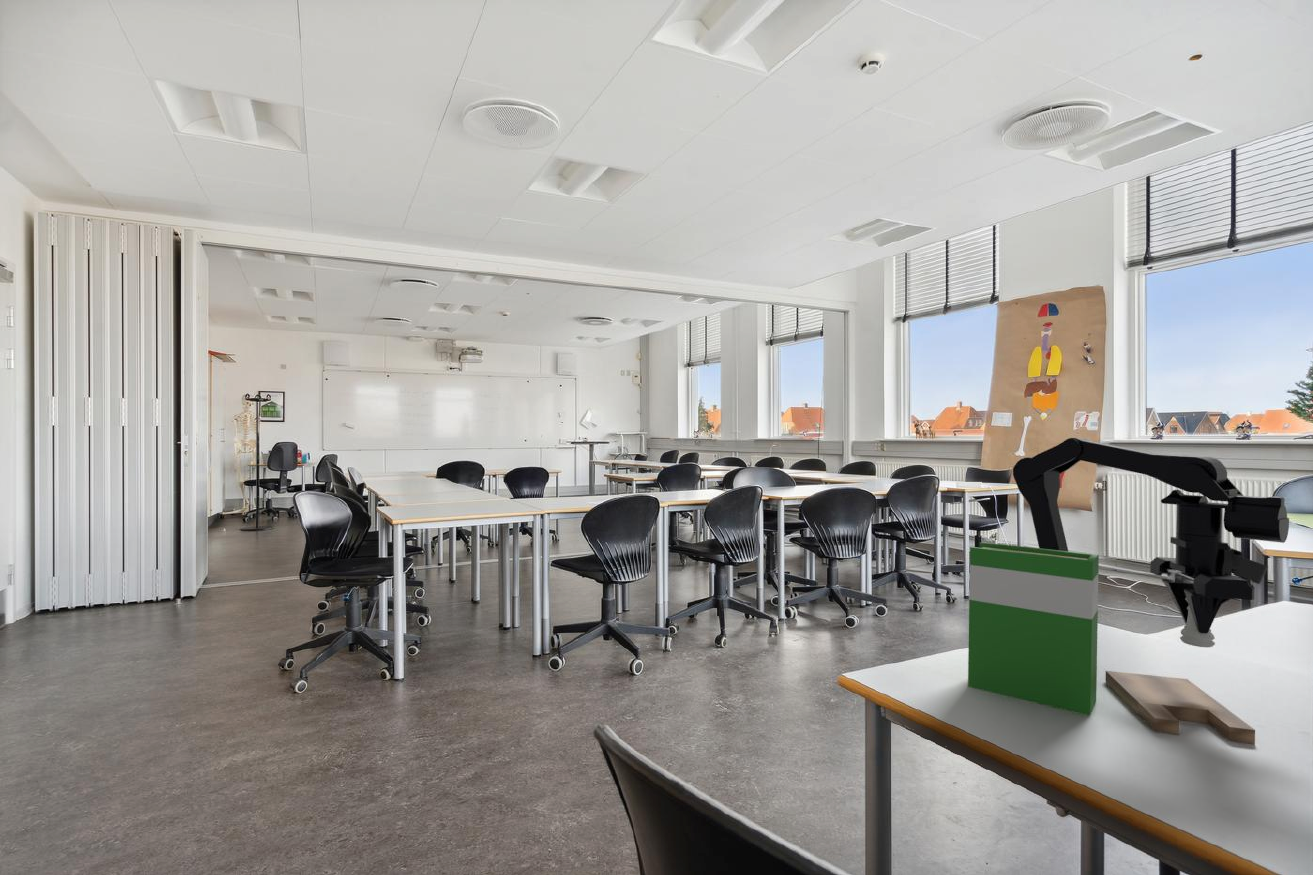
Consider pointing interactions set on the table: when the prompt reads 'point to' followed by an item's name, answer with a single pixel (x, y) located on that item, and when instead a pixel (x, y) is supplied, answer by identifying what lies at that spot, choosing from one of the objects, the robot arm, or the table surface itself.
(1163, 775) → the table surface
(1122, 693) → the notched board
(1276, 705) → the table surface
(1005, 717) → the table surface
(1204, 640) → the rook chess piece
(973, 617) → the green open box
